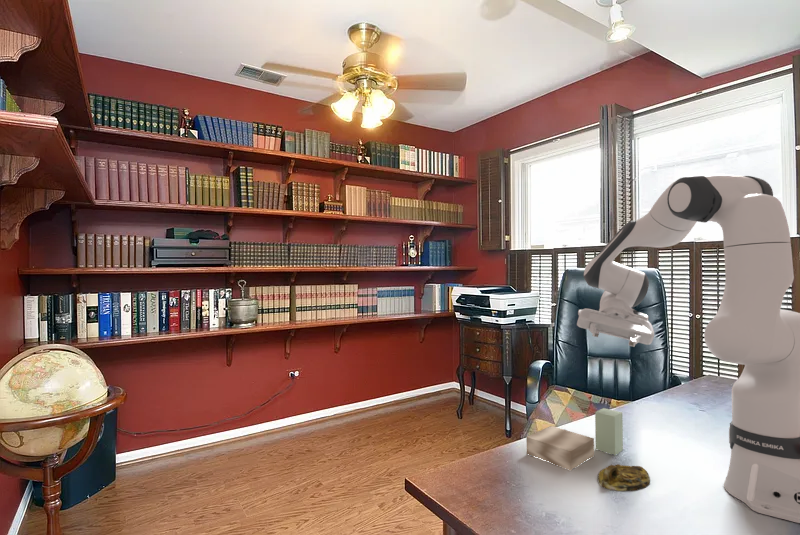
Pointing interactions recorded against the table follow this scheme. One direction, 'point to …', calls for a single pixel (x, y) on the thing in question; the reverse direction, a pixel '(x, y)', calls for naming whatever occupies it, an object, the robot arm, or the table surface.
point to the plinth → (560, 447)
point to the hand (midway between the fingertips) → (613, 339)
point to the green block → (609, 431)
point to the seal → (623, 478)
